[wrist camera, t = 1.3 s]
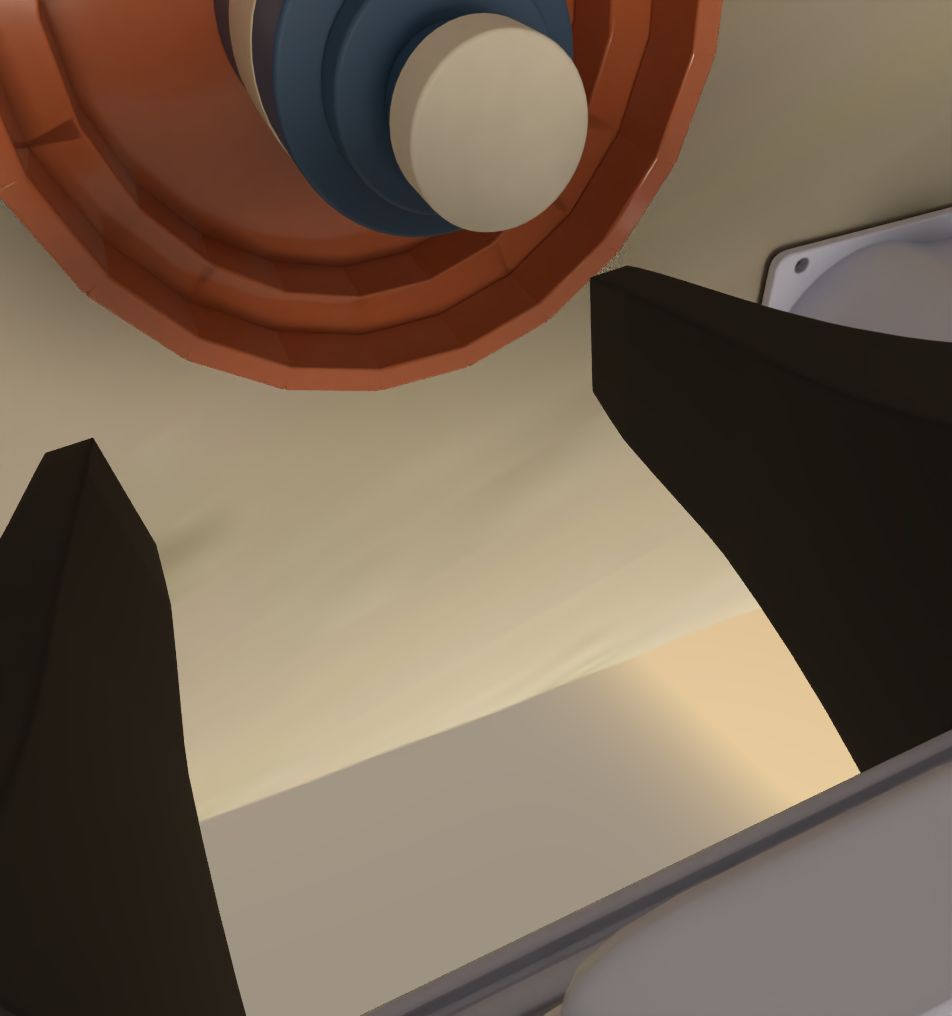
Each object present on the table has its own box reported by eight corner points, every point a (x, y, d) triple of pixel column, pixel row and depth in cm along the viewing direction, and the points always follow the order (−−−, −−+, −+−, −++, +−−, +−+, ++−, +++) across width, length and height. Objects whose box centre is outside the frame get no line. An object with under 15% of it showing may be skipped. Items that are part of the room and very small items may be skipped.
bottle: (440, -159, 16) (690, -120, 10) (457, 116, 19) (650, 272, 13) (176, -131, 15) (273, -68, 8) (246, 156, 18) (351, 348, 12)
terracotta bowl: (654, -525, 14) (804, -600, 11) (607, 249, 24) (682, 310, 21) (-285, -537, 11) (-398, -646, 8) (108, 370, 20) (118, 462, 18)
